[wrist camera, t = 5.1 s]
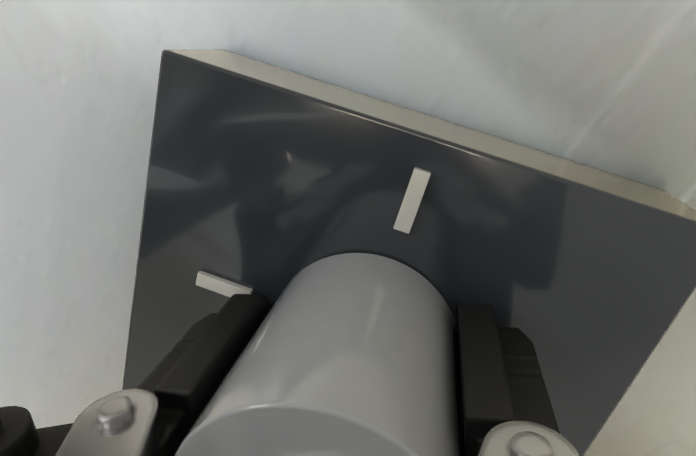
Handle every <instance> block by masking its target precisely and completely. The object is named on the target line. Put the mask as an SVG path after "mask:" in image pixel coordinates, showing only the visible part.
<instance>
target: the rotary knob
mask: <svg viewBox="0 0 696 456" xmlns="http://www.w3.org/2000/svg"><path fill="white" fill-rule="evenodd" d="M175 456H462V438H461V416H460V394H459V372H458V350H457V332H456V327H455V322H454V319H453V316H452V314H451V311H450V309H449V307H448V305H447V303H446V302H445V300H444V298H443V297H442V296H441V294H440V293H439V292H438V290H437V289H436V288H435V287H434V286H433V285H432V284H431V283H430V282H429V281H428V280H427V279H426V278H424V277H423V276H422V275H421V274H419V273H418V272H416V271H415V270H413V269H412V268H410V267H408V266H407V265H404V264H402V263H400V262H398V261H396V260H393V259H390V258H387V257H384V256H379V255H374V254H367V253H345V254H339V255H333V256H330V257H327V258H323V259H321V260H318V261H316V262H314V263H312V264H310V265H309V266H307V267H306V268H304V269H303V270H301V271H300V272H299V273H298V274H297V275H296V276H294V277H293V279H292V280H291V281H290V282H289V283H288V285H287V286H286V287H285V289H284V290H283V292H282V293H281V295H280V296H279V298H278V299H277V301H276V302H275V304H274V305H273V307H272V308H271V310H270V311H269V313H268V314H267V316H266V317H265V319H264V320H263V322H262V323H261V325H260V326H259V328H258V329H257V331H256V332H255V334H254V335H253V337H252V338H251V340H250V341H249V343H248V344H247V346H246V347H245V349H244V350H243V352H242V353H241V355H240V356H239V358H238V359H237V361H236V362H235V364H234V365H233V367H232V368H231V370H230V371H229V373H228V374H227V376H226V377H225V379H224V380H223V382H222V383H221V385H220V386H219V388H218V389H217V391H216V392H215V394H214V395H213V397H212V398H211V399H210V401H209V402H208V404H207V405H206V407H205V408H204V410H203V411H202V413H201V414H200V416H199V417H198V419H197V420H196V422H195V423H194V425H193V426H192V428H191V429H190V431H189V432H188V434H187V435H186V437H185V438H184V440H183V441H182V443H181V445H180V446H179V448H178V450H177V451H176V453H175Z"/></svg>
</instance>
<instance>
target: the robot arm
mask: <svg viewBox="0 0 696 456" xmlns="http://www.w3.org/2000/svg"><path fill="white" fill-rule="evenodd" d="M269 311H270V305H269V301H268V298H267V297H266V296H265V295H259V294H234V295H232V296H231V297H230V299H229V300H228V301H227V302H226V303H225V305H224V306H223V307H222V308H221V309H220V311H219V312H218V313H211V314H209V315H208V316H206V317H205V318H203V319H201V320H200V321H198V322H196V323H195V324H194V325H193V326H192V327H191V328H190V329H189V330H188V331H187V332H186V334H185V335H184V336H183V337H182V340H179V341H178V343H177V344H176V345H175V346H174V347H173V348H172V352H169V353H168V354H167V355H166V356H165V357H164V358H163V359H162V361H161V362H160V363H159V364H158V365H157V366H156V367H155V368H154V370H153V371H152V372H151V373H150V374H149V375H148V376H147V377H146V379H145V380H144V381H143V382H142V383H141V384H140V385H139V386H138V388H137V389H127V390H121V391H118V392H114V393H112V394H109V395H107V396H104V397H102V398H100V399H99V400H97V401H95V402H94V403H92V404H91V405H89V406H88V407H87V408H86V409H85V410H83V411H82V413H81V414H80V415H79V416H78V417H77V419H76V420H75V422H74V423H72V424H65V425H59V426H53V427H46V428H40V429H36V428H35V425H34V422H33V420H32V417H31V414H30V412H29V411H28V410H27V409H25V408H22V407H17V406H8V407H1V408H0V456H175V453H176V451H177V450H178V448H179V446H180V445H181V443H182V441H183V440H184V438H185V437H186V435H187V434H188V432H189V431H190V429H191V428H192V426H193V425H194V423H195V422H196V420H197V419H198V417H199V416H200V414H201V413H202V411H203V410H204V408H205V407H206V405H207V404H208V402H209V401H210V399H211V398H212V397H213V395H214V394H215V392H216V391H217V389H218V388H219V386H220V385H221V383H222V382H223V380H224V379H225V377H226V376H227V374H228V373H229V371H230V370H231V368H232V367H233V365H234V364H235V362H236V361H237V359H238V358H239V356H240V355H241V353H242V352H243V350H244V349H245V347H246V346H247V344H248V343H249V341H250V340H251V338H252V337H253V335H254V334H255V332H256V331H257V329H258V328H259V326H260V325H261V323H262V322H263V320H264V319H265V317H266V316H267V314H268V313H269ZM457 350H458V372H459V394H460V416H461V438H462V456H579V454H578V452H577V450H576V449H575V448H574V446H573V445H572V444H571V443H570V442H569V441H568V440H567V439H566V438H565V437H563V436H562V435H561V434H560V431H559V428H558V425H557V421H556V418H555V415H554V411H553V408H552V405H551V401H550V398H549V395H548V391H547V388H546V385H545V381H544V378H543V377H542V371H541V368H540V365H539V362H538V358H537V355H536V352H535V348H534V345H533V342H532V341H531V340H530V339H529V338H528V337H527V336H526V335H525V334H524V333H523V332H522V331H521V330H520V329H519V328H514V327H497V325H496V319H495V314H494V309H493V305H492V304H484V303H458V333H457Z"/></svg>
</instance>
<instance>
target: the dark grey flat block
mask: <svg viewBox="0 0 696 456" xmlns="http://www.w3.org/2000/svg"><path fill="white" fill-rule="evenodd" d="M345 253H367V254H374V255H379V256H384V257H387V258H390V259H393V260H396V261H398V262H400V263H402V264H404V265H407V266H408V267H410V268H412V269H413V270H415V271H416V272H418V273H419V274H421V275H422V276H423V277H424V278H426V279H427V280H428V281H429V282H430V283H431V284H432V285H433V286H434V287H435V288H436V289H437V290H438V292H439V293H440V294H441V296H442V297H443V298H444V300H445V302H446V303H447V305H448V307H449V309H450V311H451V314H452V316H453V319H454V322H455V327H456V332H457V333H458V303H484V304H492V305H493V309H494V314H495V319H496V325H497V327H514V328H519V329H520V330H521V331H522V332H523V333H524V334H525V335H526V336H527V337H528V338H529V339H530V340H531V341H532V342H533V345H534V348H535V352H536V355H537V358H538V362H539V365H540V368H541V371H542V377H543V378H544V381H545V385H546V388H547V391H548V395H549V398H550V401H551V405H552V408H553V411H554V415H555V418H556V421H557V425H558V428H559V431H560V434H561V435H562V436H563V437H565V438H566V439H567V440H568V441H569V442H570V443H571V444H572V445H573V446H574V448H575V449H576V450H577V452H578V454H579V456H584V454H585V453H586V451H587V450H588V448H589V447H590V445H591V444H592V442H593V441H594V439H595V438H596V436H597V435H598V433H599V432H600V430H601V429H602V427H603V426H604V424H605V423H606V421H607V420H608V418H609V417H610V415H611V414H612V412H613V411H614V409H615V408H616V406H617V405H618V403H619V402H620V400H621V399H622V397H623V396H624V394H625V393H626V391H627V390H628V388H629V387H630V385H631V384H632V382H633V381H634V379H635V378H636V376H637V375H638V373H639V372H640V370H641V369H642V367H643V366H644V364H645V363H646V361H647V360H648V358H649V357H650V355H651V354H652V352H653V351H654V349H655V348H656V346H657V345H658V343H659V342H660V340H661V339H662V337H663V336H664V334H665V333H666V331H667V330H668V328H669V327H670V325H671V324H672V322H673V321H674V319H675V318H676V316H677V315H678V313H679V312H680V310H681V309H682V307H683V306H684V304H685V303H686V301H687V300H688V298H689V297H690V295H691V294H692V292H693V291H694V289H695V288H696V210H694V209H692V208H691V207H689V206H688V205H686V204H685V203H683V202H681V201H680V200H678V199H677V198H675V197H674V196H672V195H670V194H669V193H667V192H666V191H664V190H661V189H657V188H654V187H651V186H648V185H645V184H642V183H639V182H636V181H632V180H629V179H626V178H623V177H620V176H617V175H614V174H611V173H607V172H604V171H601V170H598V169H595V168H592V167H589V166H586V165H582V164H579V163H576V162H573V161H570V160H567V159H564V158H561V157H557V156H554V155H551V154H548V153H545V152H542V151H539V150H536V149H532V148H529V147H526V146H523V145H520V144H517V143H514V142H511V141H507V140H504V139H501V138H498V137H495V136H492V135H489V134H486V133H482V132H479V131H476V130H473V129H470V128H467V127H464V126H461V125H457V124H454V123H451V122H448V121H445V120H442V119H439V118H436V117H432V116H429V115H426V114H423V113H420V112H417V111H414V110H411V109H407V108H404V107H401V106H398V105H395V104H392V103H389V102H386V101H382V100H379V99H376V98H373V97H370V96H367V95H364V94H361V93H357V92H354V91H351V90H348V89H345V88H342V87H339V86H336V85H332V84H329V83H326V82H323V81H320V80H317V79H314V78H310V77H307V76H304V75H301V74H298V73H295V72H292V71H289V70H285V69H282V68H279V67H276V66H273V65H270V64H267V63H264V62H260V61H257V60H254V59H251V58H248V57H245V56H242V55H239V54H235V53H232V52H229V51H226V50H163V52H162V56H161V64H160V73H159V81H158V90H157V98H156V107H155V115H154V124H153V132H152V141H151V149H150V158H149V166H148V175H147V183H146V192H145V200H144V209H143V217H142V226H141V234H140V243H139V251H138V260H137V268H136V277H135V285H134V294H133V302H132V311H131V319H130V328H129V336H128V345H127V353H126V362H125V370H124V379H123V387H122V390H127V389H137V388H138V386H139V385H140V384H141V383H142V382H143V381H144V380H145V379H146V377H147V376H148V375H149V374H150V373H151V372H152V371H153V370H154V368H155V367H156V366H157V365H158V364H159V363H160V362H161V361H162V359H163V358H164V357H165V356H166V355H167V354H168V353H169V352H172V348H173V347H174V346H175V345H176V344H177V343H178V341H179V340H182V337H183V336H184V335H185V334H186V332H187V331H188V330H189V329H190V328H191V327H192V326H193V325H194V324H195V323H196V322H198V321H200V320H201V319H203V318H205V317H206V316H208V315H209V314H211V313H218V312H219V311H220V309H221V308H222V307H223V306H224V305H225V303H226V302H227V301H228V300H229V299H230V297H231V296H232V295H234V294H259V295H265V296H266V297H267V298H268V301H269V305H270V310H271V308H272V307H273V305H274V304H275V302H276V301H277V299H278V298H279V296H280V295H281V293H282V292H283V290H284V289H285V287H286V286H287V285H288V283H289V282H290V281H291V280H292V279H293V277H294V276H296V275H297V274H298V273H299V272H300V271H301V270H303V269H304V268H306V267H307V266H309V265H310V264H312V263H314V262H316V261H318V260H321V259H323V258H327V257H330V256H333V255H339V254H345Z"/></svg>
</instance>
